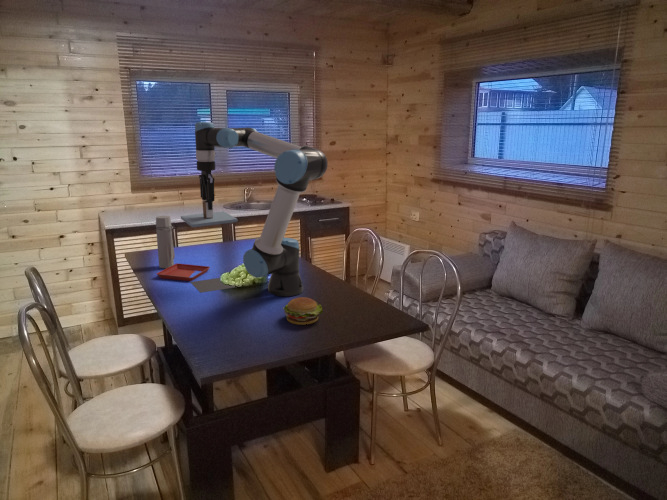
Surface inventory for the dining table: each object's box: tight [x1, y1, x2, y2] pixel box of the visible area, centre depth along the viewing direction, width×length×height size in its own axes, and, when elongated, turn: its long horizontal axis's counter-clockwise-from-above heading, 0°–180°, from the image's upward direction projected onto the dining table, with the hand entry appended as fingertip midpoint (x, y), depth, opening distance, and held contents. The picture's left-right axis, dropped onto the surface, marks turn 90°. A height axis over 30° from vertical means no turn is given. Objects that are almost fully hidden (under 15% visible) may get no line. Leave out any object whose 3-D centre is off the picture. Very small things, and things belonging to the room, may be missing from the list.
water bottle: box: [155, 215, 175, 270], centre depth 244 cm, size 9×8×25 cm
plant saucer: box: [156, 263, 211, 282], centre depth 234 cm, size 18×18×3 cm
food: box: [282, 296, 324, 326], centre depth 185 cm, size 14×14×8 cm
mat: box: [189, 277, 236, 294], centre depth 222 cm, size 16×16×1 cm
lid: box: [180, 200, 238, 228], centre depth 214 cm, size 19×19×8 cm
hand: (208, 216), depth 214 cm, fingers closed on lid, 4 cm apart
